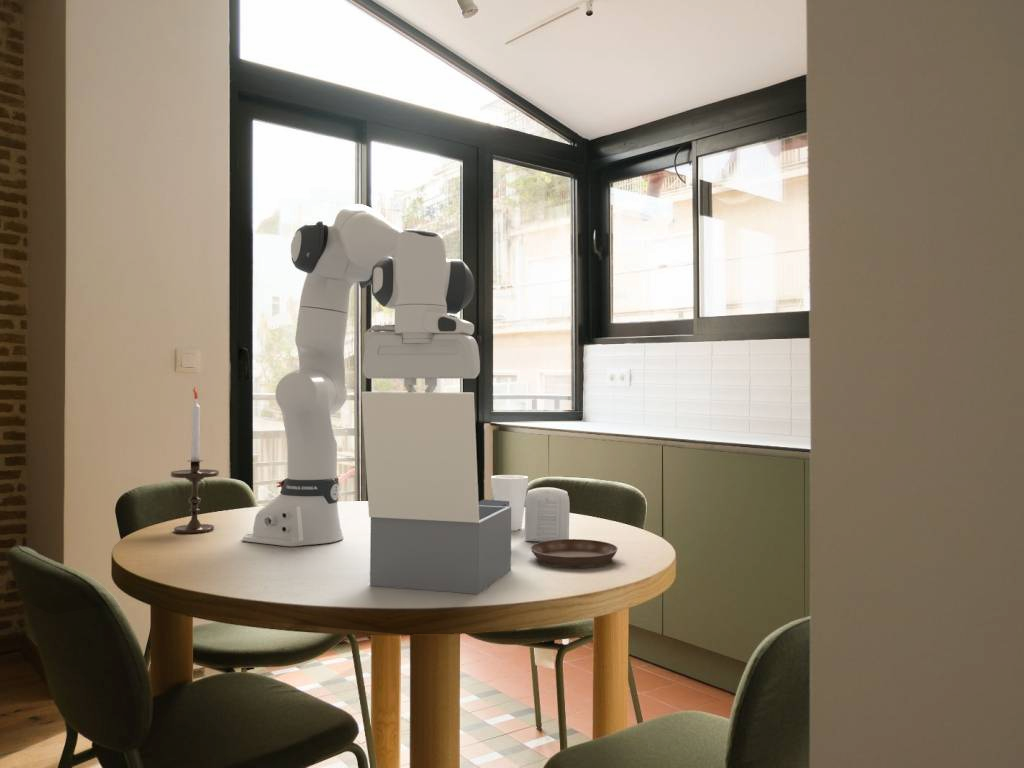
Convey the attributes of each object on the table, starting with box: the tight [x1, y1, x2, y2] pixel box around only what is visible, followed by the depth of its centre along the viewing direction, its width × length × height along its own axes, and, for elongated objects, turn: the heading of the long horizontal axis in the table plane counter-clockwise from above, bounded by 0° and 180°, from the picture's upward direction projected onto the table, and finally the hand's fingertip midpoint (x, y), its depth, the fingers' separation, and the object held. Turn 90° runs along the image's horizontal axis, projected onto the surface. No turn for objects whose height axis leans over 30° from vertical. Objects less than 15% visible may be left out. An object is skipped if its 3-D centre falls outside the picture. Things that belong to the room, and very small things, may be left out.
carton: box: [369, 505, 512, 595], centre depth 145 cm, size 20×20×12 cm
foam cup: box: [490, 474, 529, 531], centre depth 199 cm, size 10×9×13 cm
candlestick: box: [170, 387, 220, 535], centre depth 193 cm, size 11×11×35 cm
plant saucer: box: [530, 538, 619, 569], centre depth 161 cm, size 18×18×3 cm
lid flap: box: [360, 391, 480, 523], centre depth 134 cm, size 20×22×1 cm
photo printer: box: [524, 486, 571, 543], centre depth 182 cm, size 10×4×12 cm, turn 86°
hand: (420, 405), depth 134 cm, fingers closed, pressing on lid flap
